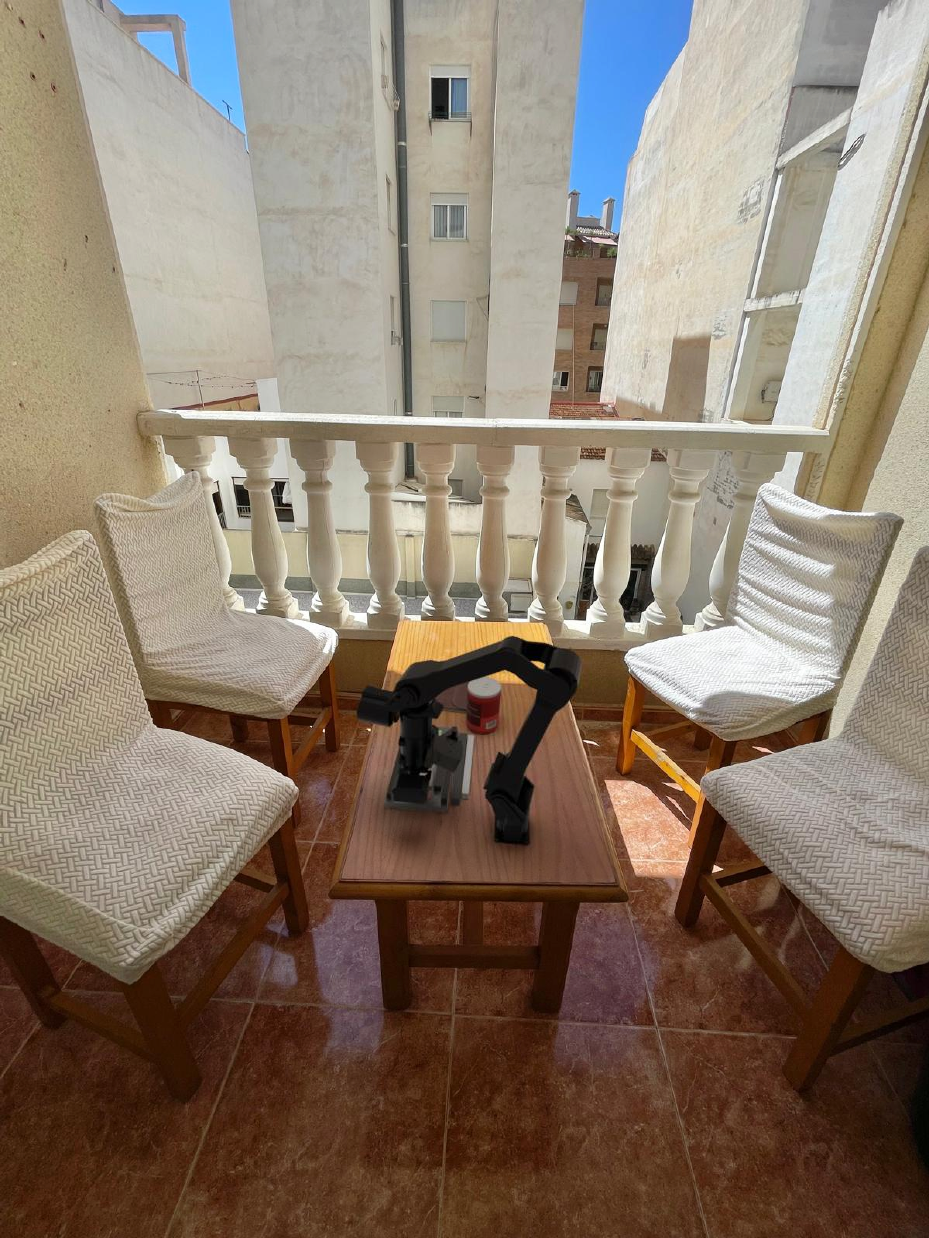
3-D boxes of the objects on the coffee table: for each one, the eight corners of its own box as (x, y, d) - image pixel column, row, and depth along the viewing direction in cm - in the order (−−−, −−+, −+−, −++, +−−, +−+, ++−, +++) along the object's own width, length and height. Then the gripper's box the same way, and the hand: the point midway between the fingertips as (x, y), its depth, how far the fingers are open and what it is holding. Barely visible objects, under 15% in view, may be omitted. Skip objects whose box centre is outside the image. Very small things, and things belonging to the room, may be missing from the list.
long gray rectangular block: (467, 806, 108) (468, 799, 107) (450, 805, 108) (450, 798, 107) (473, 740, 126) (474, 733, 125) (459, 739, 126) (459, 732, 125)
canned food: (501, 717, 134) (504, 679, 129) (494, 738, 127) (497, 698, 122) (471, 711, 135) (472, 673, 130) (462, 731, 128) (463, 692, 123)
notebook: (414, 708, 136) (414, 702, 136) (431, 666, 154) (431, 660, 153) (474, 716, 134) (474, 709, 134) (484, 673, 152) (485, 667, 151)
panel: (446, 812, 106) (447, 802, 105) (385, 807, 107) (384, 797, 106) (457, 733, 128) (458, 723, 127) (406, 729, 128) (406, 720, 127)
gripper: (456, 769, 90) (454, 836, 97) (464, 702, 107) (462, 764, 114) (389, 763, 91) (391, 831, 98) (408, 698, 107) (409, 759, 115)
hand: (416, 794), depth 106 cm, fingers closed
